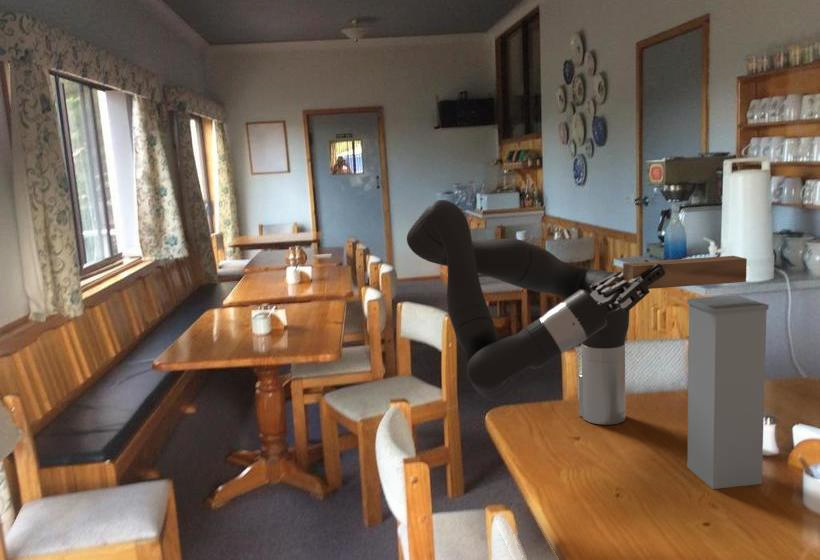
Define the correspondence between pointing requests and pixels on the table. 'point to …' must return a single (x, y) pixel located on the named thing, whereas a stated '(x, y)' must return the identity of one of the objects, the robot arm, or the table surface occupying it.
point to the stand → (726, 390)
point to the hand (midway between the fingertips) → (655, 266)
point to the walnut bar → (692, 271)
